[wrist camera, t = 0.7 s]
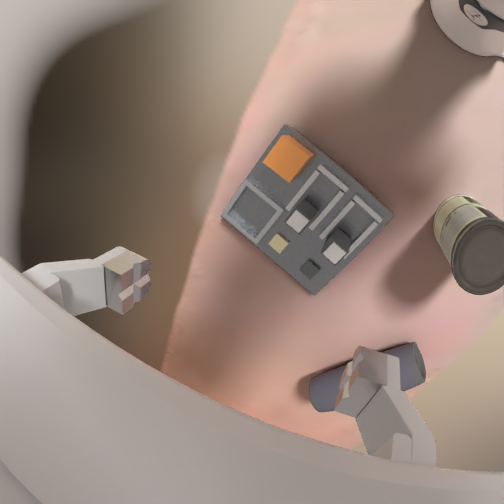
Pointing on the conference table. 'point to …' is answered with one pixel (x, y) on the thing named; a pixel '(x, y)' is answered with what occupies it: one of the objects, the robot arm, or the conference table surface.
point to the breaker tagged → (301, 216)
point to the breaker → (336, 246)
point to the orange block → (288, 158)
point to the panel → (321, 227)
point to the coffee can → (471, 243)
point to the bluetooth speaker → (327, 383)
